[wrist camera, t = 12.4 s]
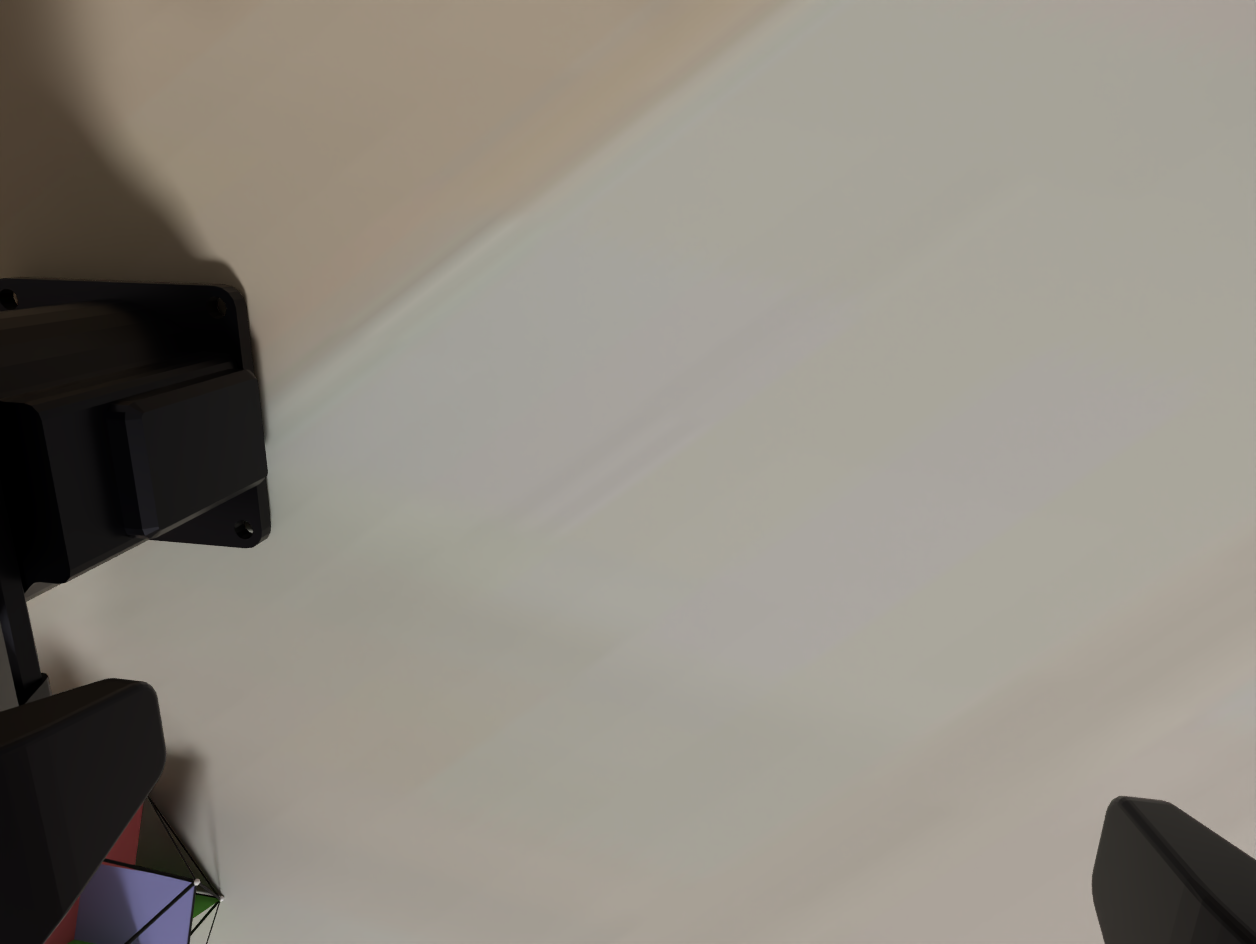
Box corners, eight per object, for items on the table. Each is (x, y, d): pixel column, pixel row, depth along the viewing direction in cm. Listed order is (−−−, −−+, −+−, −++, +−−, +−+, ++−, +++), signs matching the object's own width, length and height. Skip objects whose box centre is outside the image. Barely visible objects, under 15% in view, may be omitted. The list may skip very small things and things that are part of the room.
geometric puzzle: (-41, 732, 23) (-269, 1098, 18) (191, 767, 22) (12, 1166, 17) (111, 803, 28) (-33, 1094, 24) (299, 834, 27) (186, 1144, 23)
